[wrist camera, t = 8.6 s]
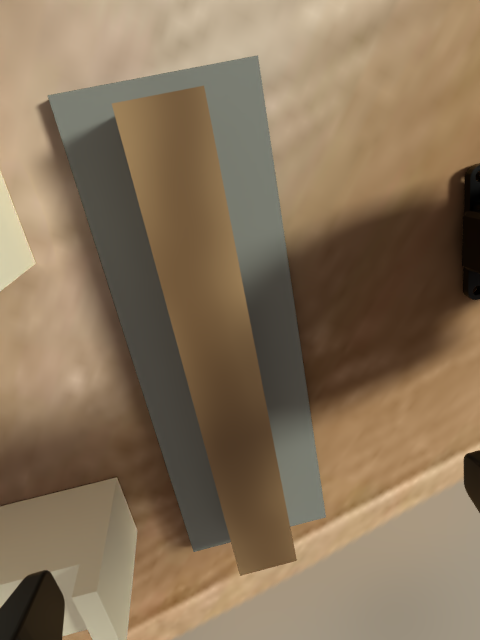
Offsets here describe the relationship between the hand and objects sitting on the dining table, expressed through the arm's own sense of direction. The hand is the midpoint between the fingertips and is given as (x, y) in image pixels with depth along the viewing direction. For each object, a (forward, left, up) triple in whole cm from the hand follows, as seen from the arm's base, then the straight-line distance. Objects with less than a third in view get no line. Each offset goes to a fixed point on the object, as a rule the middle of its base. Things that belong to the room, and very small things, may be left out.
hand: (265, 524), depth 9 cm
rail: (0, +2, -12) cm, 12 cm away
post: (+10, +10, -12) cm, 19 cm away
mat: (0, +2, -12) cm, 13 cm away
